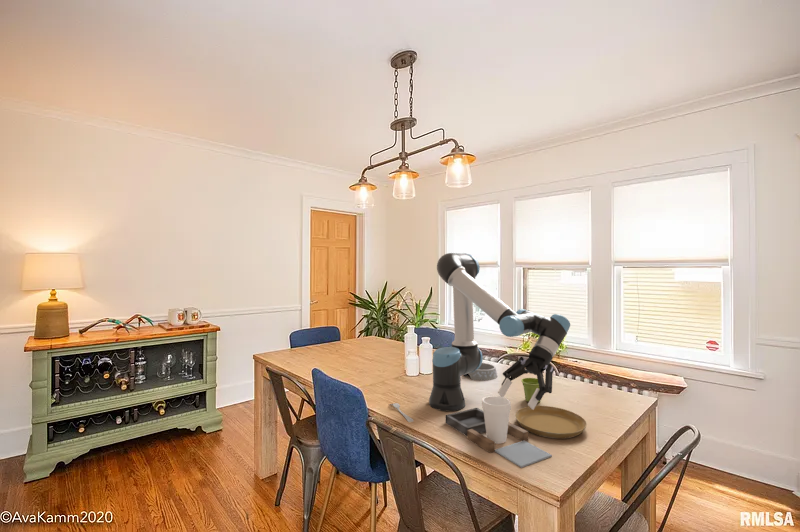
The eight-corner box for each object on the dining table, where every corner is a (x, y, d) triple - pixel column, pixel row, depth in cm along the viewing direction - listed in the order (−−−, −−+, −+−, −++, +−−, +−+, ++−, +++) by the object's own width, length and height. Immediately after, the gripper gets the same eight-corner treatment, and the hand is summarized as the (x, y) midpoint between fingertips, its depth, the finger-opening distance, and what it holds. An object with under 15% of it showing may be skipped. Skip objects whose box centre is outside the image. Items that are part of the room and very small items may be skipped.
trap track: (443, 423, 137) (443, 415, 137) (478, 414, 145) (478, 407, 145) (489, 452, 115) (489, 443, 115) (528, 440, 123) (528, 431, 123)
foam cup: (480, 442, 122) (479, 403, 122) (484, 431, 130) (484, 394, 130) (509, 447, 118) (509, 407, 118) (512, 435, 127) (512, 397, 127)
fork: (408, 429, 138) (408, 422, 138) (387, 405, 157) (387, 398, 157) (415, 428, 139) (415, 421, 139) (393, 404, 158) (393, 398, 158)
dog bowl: (483, 369, 210) (482, 360, 210) (504, 378, 193) (504, 368, 193) (457, 373, 203) (457, 363, 203) (477, 382, 186) (477, 372, 187)
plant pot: (546, 405, 154) (546, 384, 154) (522, 404, 156) (522, 383, 156) (542, 397, 163) (542, 378, 163) (520, 396, 165) (520, 377, 165)
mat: (494, 451, 116) (494, 449, 116) (524, 441, 122) (524, 440, 122) (521, 467, 106) (521, 466, 106) (551, 456, 112) (551, 454, 112)
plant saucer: (550, 448, 118) (550, 438, 118) (501, 420, 140) (501, 411, 140) (602, 434, 128) (602, 424, 128) (549, 410, 150) (549, 402, 150)
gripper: (579, 365, 124) (550, 419, 117) (522, 351, 146) (494, 396, 139) (568, 351, 122) (538, 406, 114) (512, 339, 144) (483, 384, 136)
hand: (514, 401), depth 127 cm, fingers open, 13 cm apart
